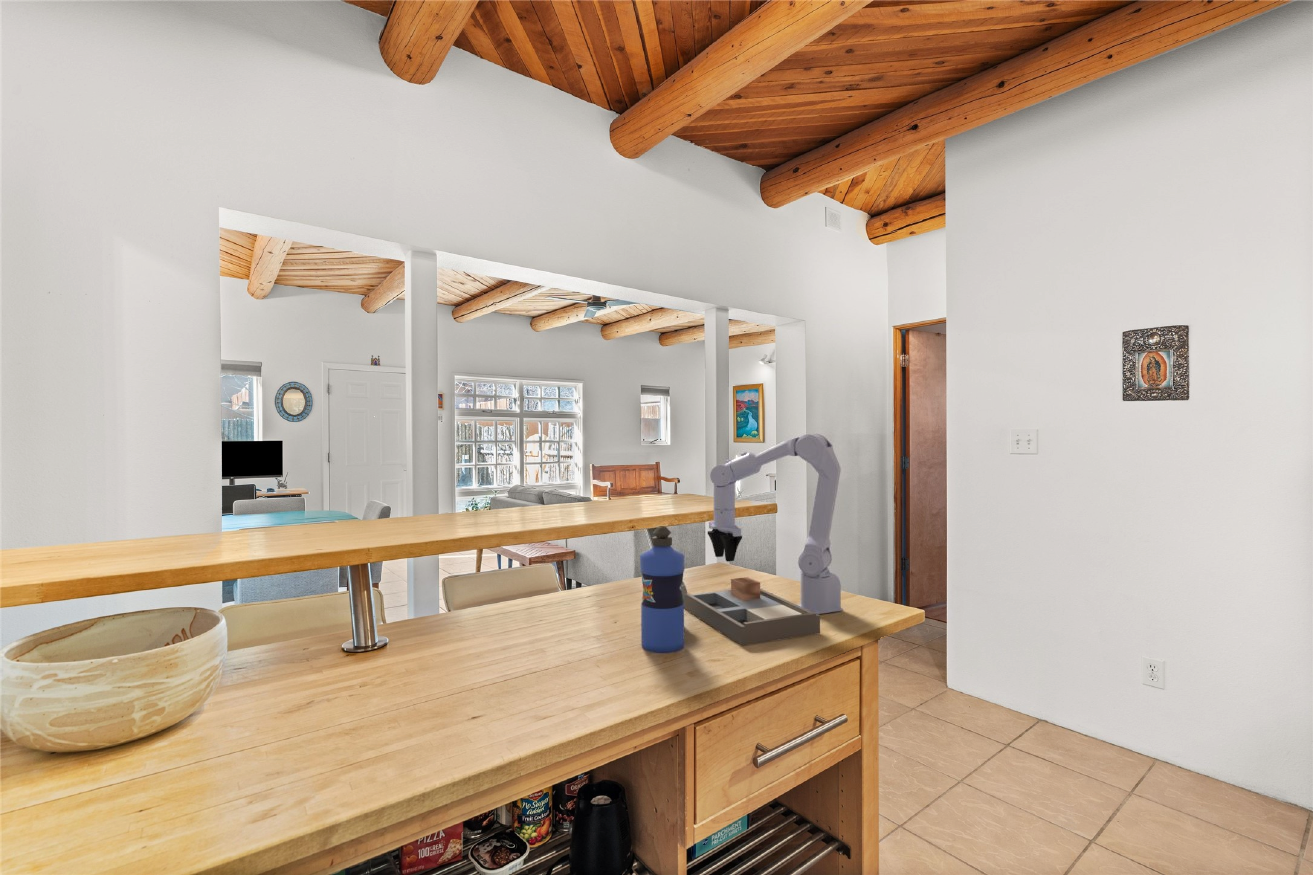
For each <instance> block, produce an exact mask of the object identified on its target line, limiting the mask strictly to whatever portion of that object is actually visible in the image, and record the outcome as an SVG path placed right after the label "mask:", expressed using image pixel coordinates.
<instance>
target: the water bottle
mask: <svg viewBox="0 0 1313 875" xmlns="http://www.w3.org/2000/svg"><path fill="white" fill-rule="evenodd" d="M652 533H653V535H654V536H653V537H651V541H652V542H651V544H652V547H651V549H649V550H647V551H645V552H644V553H641V554H640V555H639V562H640V563H639V568H640V569H639V570H640V573H641V574H640V575H641V581H642V582H641V583H642V597H641V605H640V610H641V611H640V613H641V615H640V618H641V619H640V627H641V628H640V630H641V631H640V632H641V638H640V639H641V640H640V642H641V648H642V649H644V650H645V651H647V652H650V653H655V654H667V653H675V652H678V651H681V650H683V649H684V647H685V609H684V603H683V596H682V582H684V581H683V579H684V572H685V554H684V553H681V552H680V551H677V550H675V549H674V548H673V547H672V546H673V537H672V536H670V535H671V534H672V531H670V529H669V528H668V527H667V526H657V527H656V528H655V529H654V531H653V532H652Z"/></svg>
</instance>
